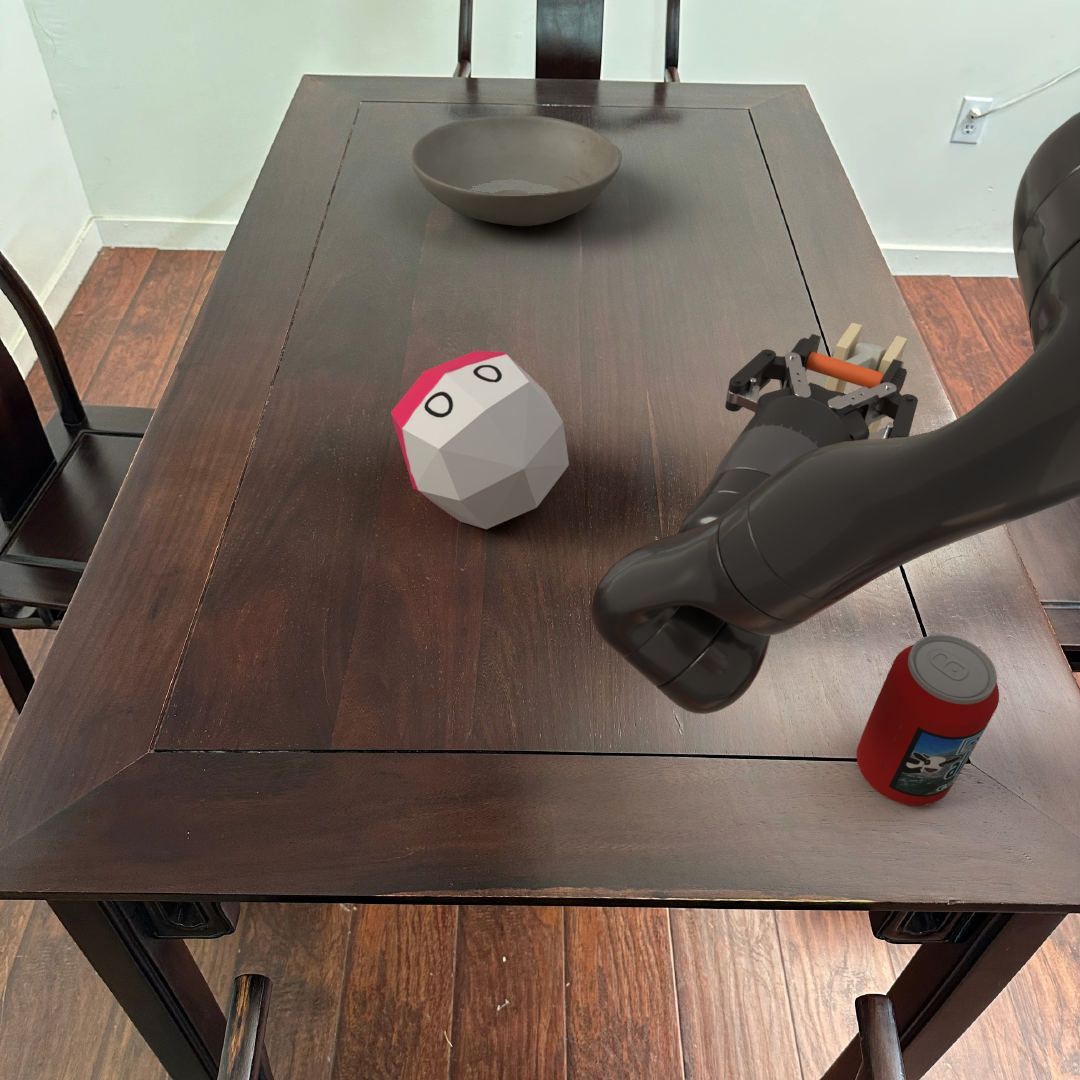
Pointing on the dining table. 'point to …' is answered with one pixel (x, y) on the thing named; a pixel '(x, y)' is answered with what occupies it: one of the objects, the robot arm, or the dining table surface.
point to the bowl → (515, 166)
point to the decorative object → (481, 438)
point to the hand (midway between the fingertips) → (853, 357)
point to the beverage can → (927, 719)
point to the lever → (852, 365)
